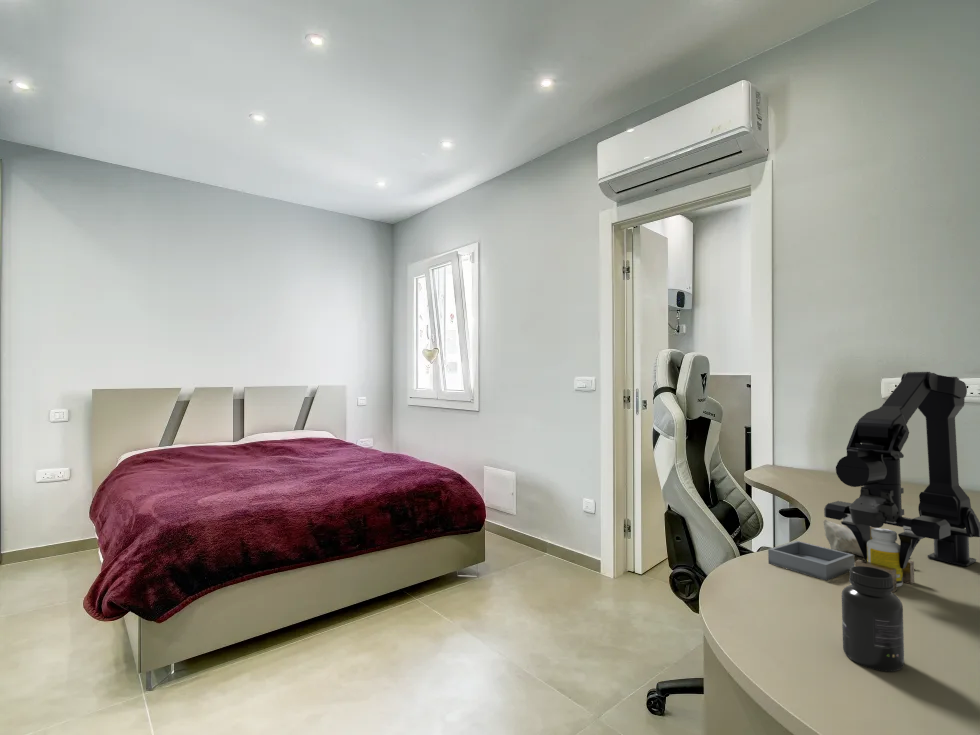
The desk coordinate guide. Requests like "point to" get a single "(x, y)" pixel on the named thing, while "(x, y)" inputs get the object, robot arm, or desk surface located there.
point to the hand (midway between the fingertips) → (884, 563)
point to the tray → (811, 559)
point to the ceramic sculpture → (842, 538)
